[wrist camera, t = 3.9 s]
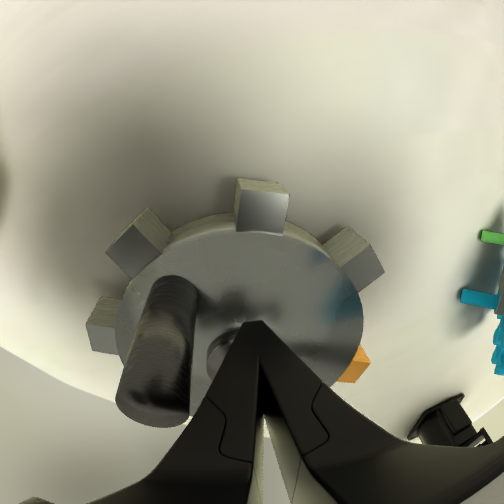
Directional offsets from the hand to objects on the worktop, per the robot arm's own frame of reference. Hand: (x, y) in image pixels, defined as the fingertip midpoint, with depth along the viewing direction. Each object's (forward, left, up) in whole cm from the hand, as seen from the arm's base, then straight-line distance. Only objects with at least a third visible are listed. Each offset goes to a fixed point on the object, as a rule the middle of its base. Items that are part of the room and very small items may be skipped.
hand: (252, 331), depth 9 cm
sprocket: (-3, 0, -5) cm, 6 cm away
